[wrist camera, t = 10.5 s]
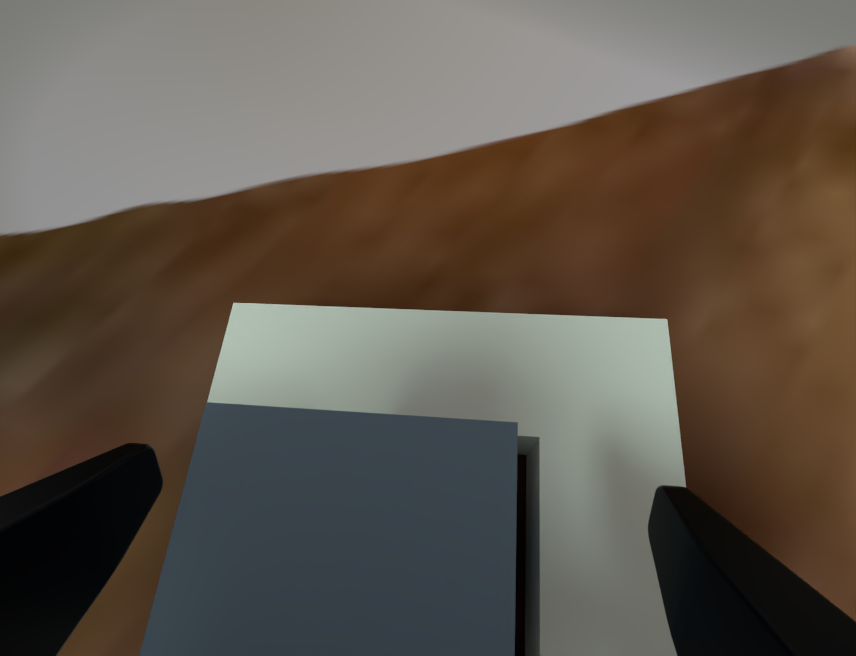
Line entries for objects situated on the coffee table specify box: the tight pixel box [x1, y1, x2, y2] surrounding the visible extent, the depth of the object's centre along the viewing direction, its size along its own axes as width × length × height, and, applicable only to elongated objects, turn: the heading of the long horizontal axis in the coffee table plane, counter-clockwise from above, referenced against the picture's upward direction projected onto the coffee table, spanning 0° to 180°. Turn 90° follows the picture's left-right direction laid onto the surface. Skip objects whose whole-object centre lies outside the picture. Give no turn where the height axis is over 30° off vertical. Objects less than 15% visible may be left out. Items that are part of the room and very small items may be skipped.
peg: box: [139, 402, 518, 656], centre depth 11 cm, size 4×4×12 cm
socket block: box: [207, 303, 686, 656], centre depth 14 cm, size 14×14×4 cm
